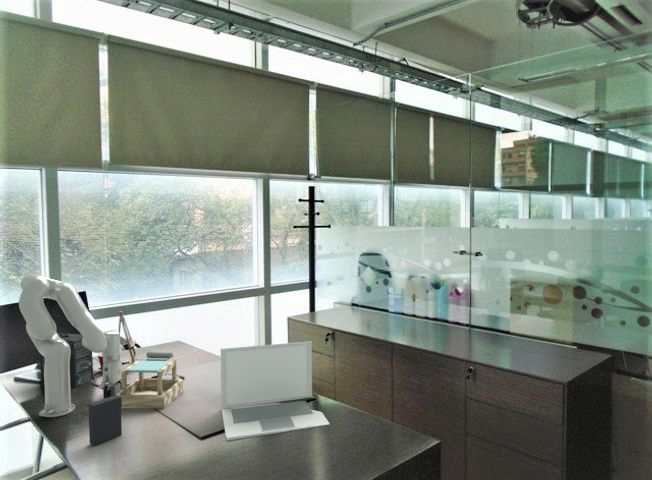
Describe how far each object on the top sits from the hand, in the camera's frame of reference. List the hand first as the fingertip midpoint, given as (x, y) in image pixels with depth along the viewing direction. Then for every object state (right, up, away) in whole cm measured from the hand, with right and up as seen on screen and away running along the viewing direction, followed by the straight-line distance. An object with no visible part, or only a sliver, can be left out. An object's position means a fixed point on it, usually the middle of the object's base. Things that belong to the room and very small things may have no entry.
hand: (112, 393), depth 216 cm
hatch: (+19, +14, -1) cm, 23 cm away
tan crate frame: (+19, -2, -3) cm, 19 cm away
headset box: (-32, -1, +19) cm, 37 cm away
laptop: (+77, -3, -25) cm, 81 cm away
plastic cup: (-18, 0, +33) cm, 38 cm away
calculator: (+16, -4, -41) cm, 44 cm away
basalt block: (0, -2, 0) cm, 2 cm away
